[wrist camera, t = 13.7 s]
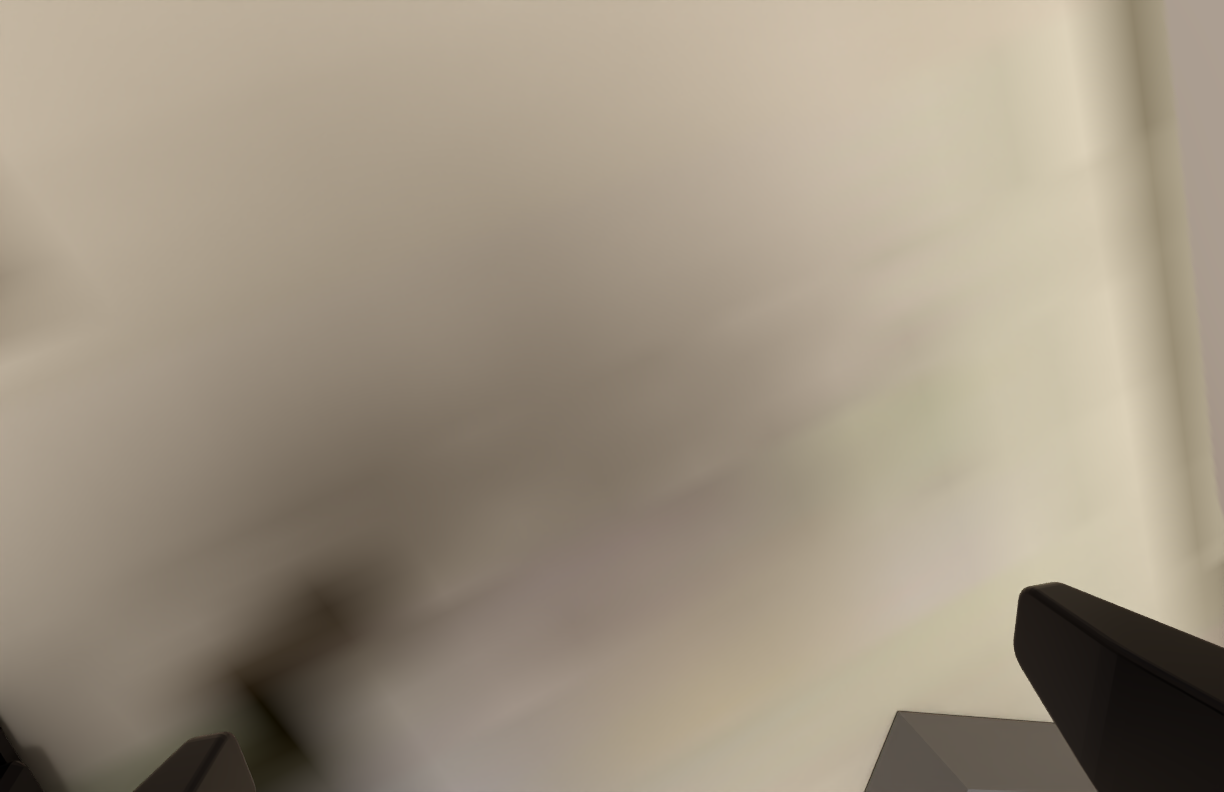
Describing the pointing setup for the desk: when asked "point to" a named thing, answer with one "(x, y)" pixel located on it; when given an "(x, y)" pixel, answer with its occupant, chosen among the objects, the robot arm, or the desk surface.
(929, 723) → the socket block
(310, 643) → the desk surface
